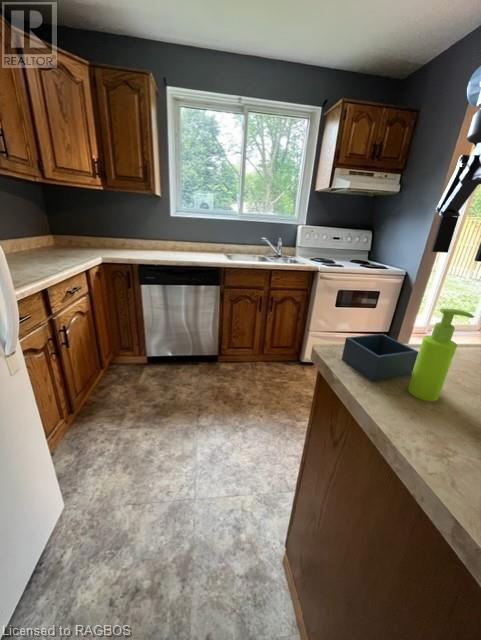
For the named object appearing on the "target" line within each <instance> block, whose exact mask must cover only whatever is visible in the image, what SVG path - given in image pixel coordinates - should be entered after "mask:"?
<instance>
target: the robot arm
mask: <svg viewBox="0 0 481 640" xmlns="http://www.w3.org/2000/svg"><path fill="white" fill-rule="evenodd" d="M466 97H467V101H468V103H469V104H470V105H471V107H474V108H475V109H476V110H477V111H476V112H475V113H474V114H473V115H472V118H471V122H470V126H469V129H468V132H467V136H466V140H467V142H469V143H470V144H473V145H474V148H473V149H472V152H471V154H461V155H460V156H459V158H458V161H457V164H456V166H455V170H454V172H453V174H452V176H451V177H450V180H449V181H448V184H447V185H446V188H445V190H444V192H443V194H442V196H441V198H440V200H439V201H438V204H437V206H436V208H435V213H438V215H439V216H440V218H439V221H438V225H437V228H436V232H435V234H434V239H433V242H432V245H431V249H430V252H431V253H449V250H450V248H451V247H450V246H451V244H452V240H453V237H454V234H455V231H456V227H457V225H458V221H459V218H460V216H461V214H460V210H461V209H462V207H463V206H464V205H465V204H466V202H467V201H468V200H469V198H470V197H471V195H472V194H473V193H474V191H475V190H476V189H477V188H478V186H480V185H481V65H480V66H479V67H477V69H476V70H475V71H474V73H472V75H471V77H470V79H469V81H468V85H467V87H466ZM474 262H478V263H479V262H480V263H481V241H480V243H479V245H478V248H477V251H476V254H475V257H474Z"/></svg>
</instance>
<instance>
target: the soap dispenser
mask: <svg viewBox="0 0 481 640" xmlns="http://www.w3.org/2000/svg"><path fill="white" fill-rule="evenodd" d="M439 312H440V313H441V314H442V318H441V320H440V321H438V322H436V323H435V324H434V326H433V330H432V332H431V335H425V336H423V338H422V341H421V345H420V347H419V350H418V352H419V353H418V356H417V359H416V362H415V366H414V369H413V372H412V375H411V377H410V379H409V383H408V386H407V390H408V392H409V394H411V395H412V396H414V397H416V398H418V399H420V400H423V401H426V402H436V401H438V400H439V397H440V395H441V392H442V389H443V386H444V383H445V381H446V378H447V375H448V372H449V370H450V368H451V363H452V362H453V358H454V355H455V353H456V350H457V348H458V344H457V343H456V342H455V341H454V340H452V338H453V336H454V332H455V328H456V327H455V326H454V325H453V324H452V322H453V320H454V316H462V317H467V318H470V319H473V318H476V317H475V315H473V313H470V312H467V311H464V310H461V309H453V308H440V310H439Z"/></svg>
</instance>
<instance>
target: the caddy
mask: <svg viewBox="0 0 481 640" xmlns="http://www.w3.org/2000/svg"><path fill="white" fill-rule="evenodd" d="M418 354H419V350H416V349H414V348H412V347H411V346H408V345H406V344H404V343H402V342H400V341H398V340H396V339H395V338H392V337H390V336H389V335H386V334H384V333H378V334H377V333H376V334H365V335H358V336H357V335H355V336H348V337H345V341H344V346H343V350H342V354H341V355H342V356H341V360H342V361H343V362H345V363H346V364H348V365H349V366H351V367H352V368H354V369H355V370H356V371H358V373H360V374H361V375H363V376H364V377H366V378H367V379H369V380H370V381H371V382H378V381H383V380H389V379H395V378H401V377H406V376H407V377H408V376H412V374H413V370H414V367H415V364H416V361H417V357H418Z"/></svg>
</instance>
